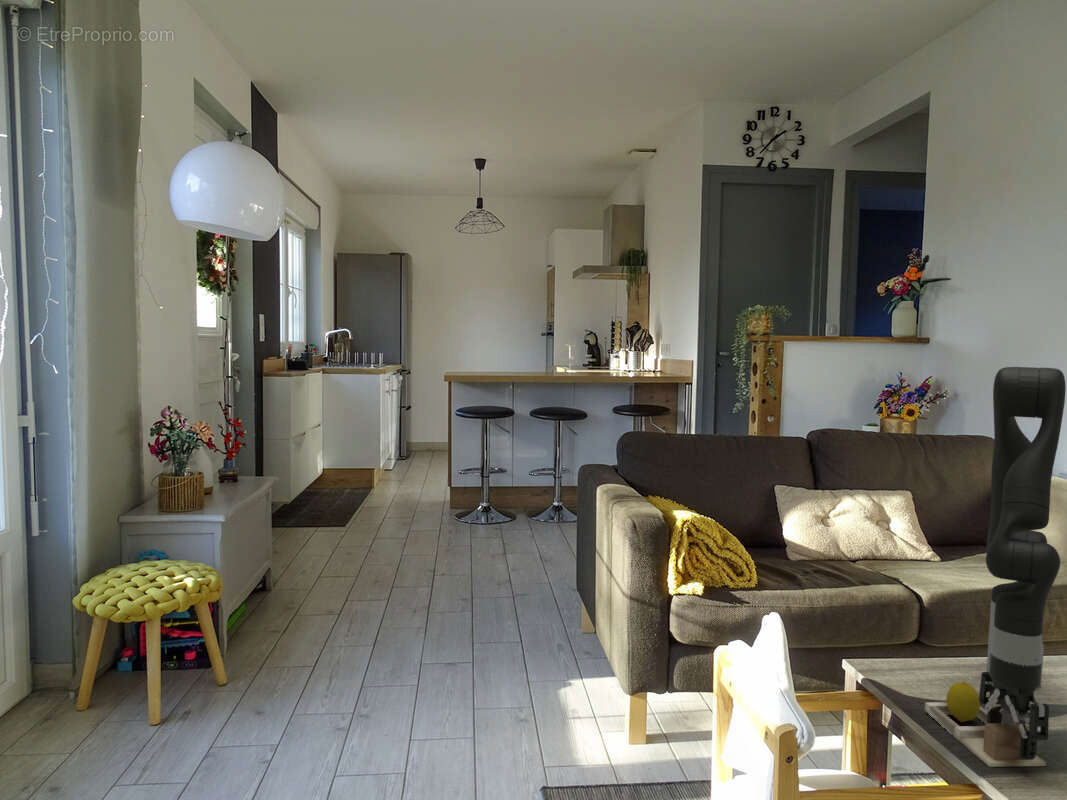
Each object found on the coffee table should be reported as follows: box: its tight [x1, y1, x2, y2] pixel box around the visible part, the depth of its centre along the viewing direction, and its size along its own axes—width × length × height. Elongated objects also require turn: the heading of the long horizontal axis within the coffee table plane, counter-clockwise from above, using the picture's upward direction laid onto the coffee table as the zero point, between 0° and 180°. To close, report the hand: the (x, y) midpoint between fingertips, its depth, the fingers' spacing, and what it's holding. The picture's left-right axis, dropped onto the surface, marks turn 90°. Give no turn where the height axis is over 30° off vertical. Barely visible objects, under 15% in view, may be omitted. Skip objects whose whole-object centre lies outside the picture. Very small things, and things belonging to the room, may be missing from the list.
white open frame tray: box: [924, 701, 1047, 768], centre depth 142 cm, size 10×20×6 cm, turn 4°
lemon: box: [945, 680, 981, 723], centre depth 147 cm, size 6×6×8 cm
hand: (1009, 745), depth 134 cm, fingers open, 8 cm apart
